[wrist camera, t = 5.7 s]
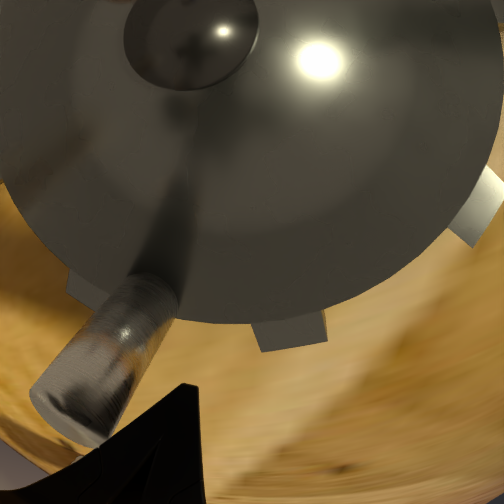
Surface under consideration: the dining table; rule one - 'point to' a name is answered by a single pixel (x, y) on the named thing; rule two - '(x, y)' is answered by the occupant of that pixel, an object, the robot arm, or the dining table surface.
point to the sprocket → (237, 164)
